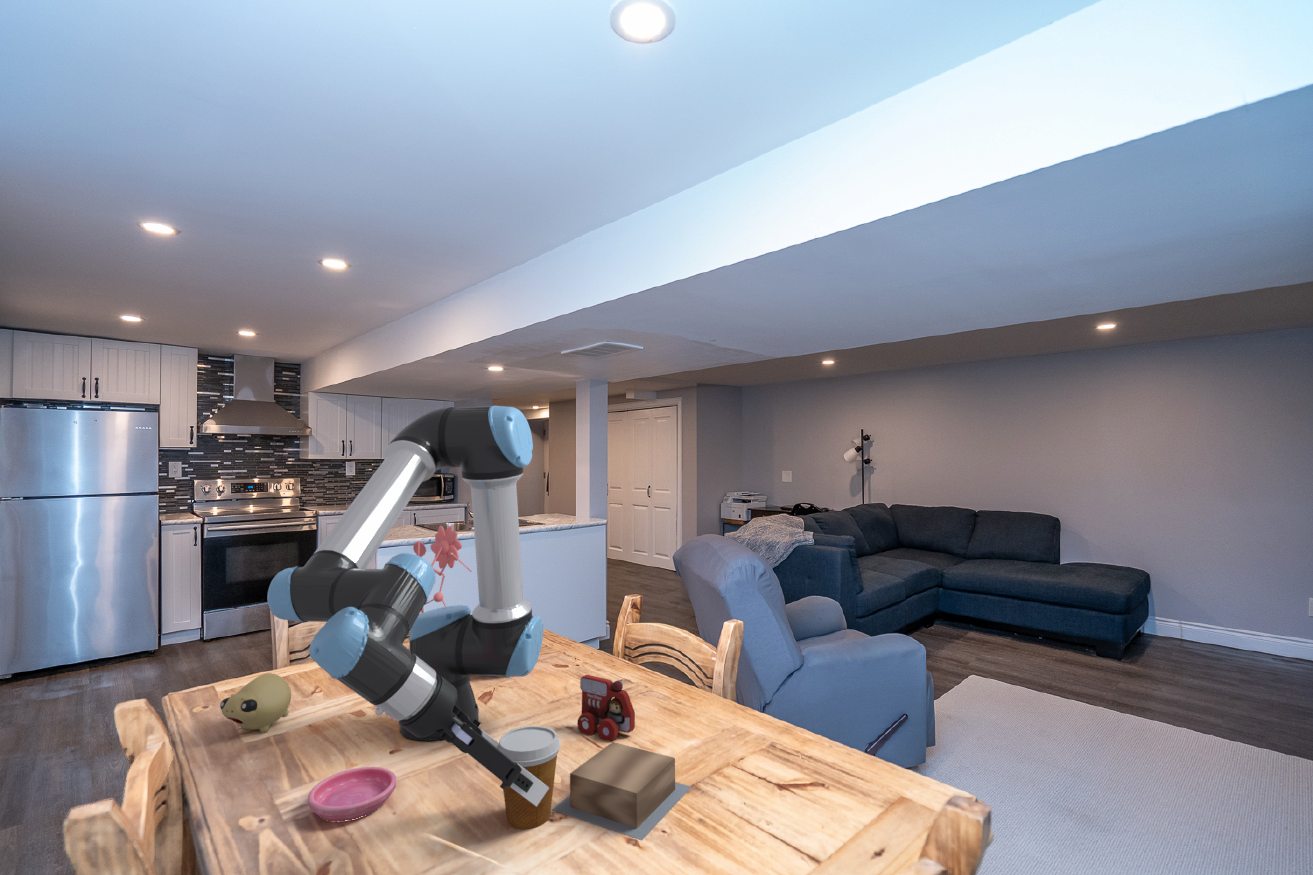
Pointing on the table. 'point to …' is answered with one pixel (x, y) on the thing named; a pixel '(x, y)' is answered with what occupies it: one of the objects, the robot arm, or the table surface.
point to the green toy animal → (259, 703)
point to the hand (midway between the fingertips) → (521, 776)
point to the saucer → (352, 793)
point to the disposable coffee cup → (537, 757)
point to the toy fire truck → (605, 708)
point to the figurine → (442, 553)
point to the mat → (622, 828)
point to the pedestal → (622, 784)
